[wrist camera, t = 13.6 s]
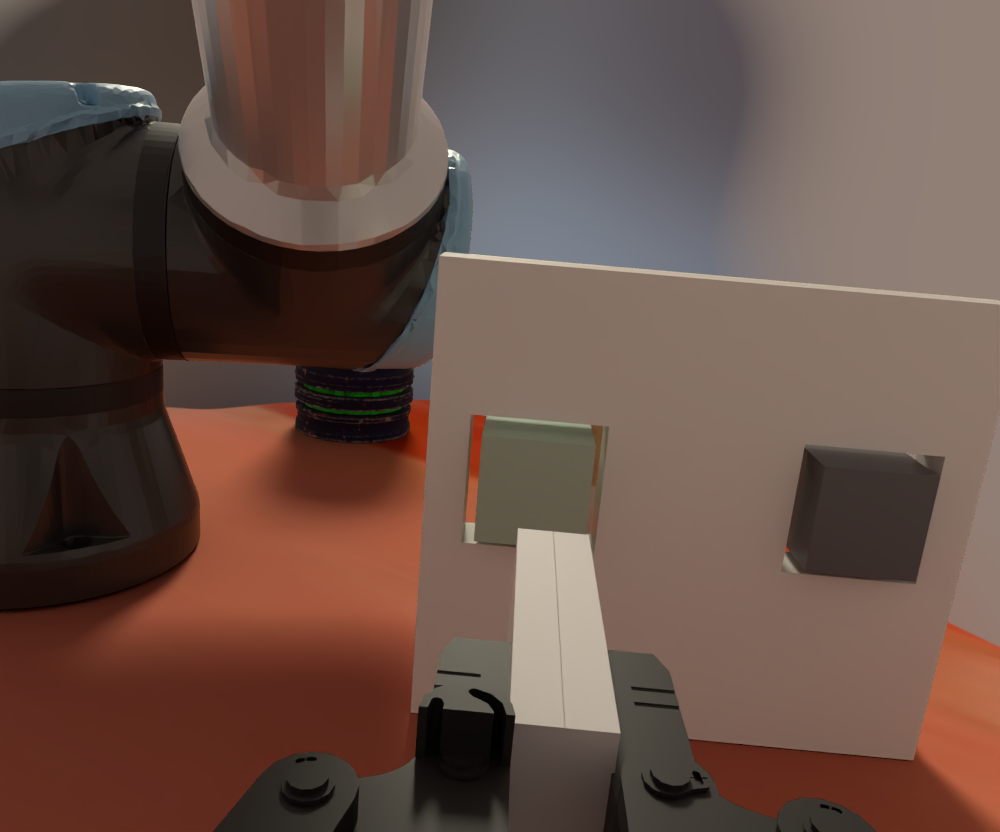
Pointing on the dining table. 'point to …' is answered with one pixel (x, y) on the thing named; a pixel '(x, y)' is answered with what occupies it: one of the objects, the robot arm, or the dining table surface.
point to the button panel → (716, 479)
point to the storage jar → (353, 403)
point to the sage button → (533, 478)
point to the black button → (861, 513)
